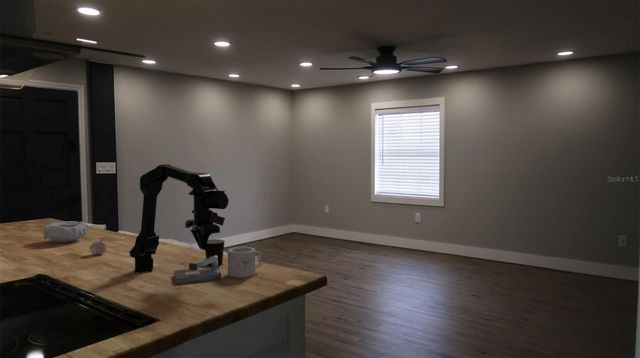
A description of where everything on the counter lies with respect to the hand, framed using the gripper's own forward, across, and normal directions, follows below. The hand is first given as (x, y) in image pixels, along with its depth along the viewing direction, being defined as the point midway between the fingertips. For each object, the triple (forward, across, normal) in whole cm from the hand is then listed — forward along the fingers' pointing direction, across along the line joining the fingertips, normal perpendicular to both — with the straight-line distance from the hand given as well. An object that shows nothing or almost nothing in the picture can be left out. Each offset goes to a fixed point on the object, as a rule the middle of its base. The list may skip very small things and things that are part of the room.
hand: (202, 249), depth 164 cm
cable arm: (+11, +9, -4) cm, 15 cm away
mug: (+12, -1, -17) cm, 21 cm away
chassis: (+12, +6, 0) cm, 13 cm away
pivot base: (+12, +12, -10) cm, 20 cm away
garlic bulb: (+12, +69, +22) cm, 73 cm away
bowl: (+12, +110, +30) cm, 115 cm away
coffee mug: (+12, +20, -14) cm, 28 cm away
